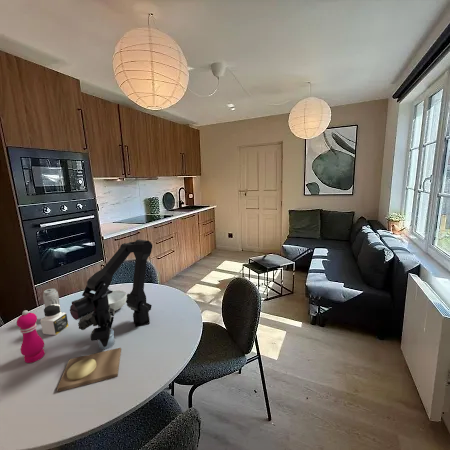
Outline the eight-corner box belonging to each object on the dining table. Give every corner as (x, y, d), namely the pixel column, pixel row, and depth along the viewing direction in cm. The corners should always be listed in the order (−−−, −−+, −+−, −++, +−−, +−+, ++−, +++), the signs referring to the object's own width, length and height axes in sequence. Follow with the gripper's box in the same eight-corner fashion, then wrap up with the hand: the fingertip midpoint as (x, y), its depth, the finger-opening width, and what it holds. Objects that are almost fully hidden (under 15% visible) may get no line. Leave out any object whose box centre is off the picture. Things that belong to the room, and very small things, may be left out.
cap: (116, 337, 106) (114, 327, 105) (114, 347, 100) (112, 336, 99) (99, 341, 104) (97, 330, 103) (96, 351, 98) (95, 340, 97)
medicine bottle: (56, 335, 110) (51, 310, 107) (42, 334, 111) (37, 309, 109) (69, 326, 116) (64, 302, 114) (56, 324, 118) (51, 301, 116)
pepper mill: (31, 351, 100) (21, 306, 96) (50, 350, 100) (41, 304, 96) (18, 365, 93) (7, 316, 89) (38, 363, 93) (28, 314, 89)
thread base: (121, 350, 98) (120, 345, 98) (117, 376, 85) (116, 370, 85) (69, 362, 93) (68, 356, 93) (57, 391, 80) (56, 386, 79)
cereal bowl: (134, 305, 133) (133, 293, 132) (105, 321, 119) (103, 308, 118) (115, 298, 142) (113, 287, 141) (86, 312, 128) (84, 299, 127)
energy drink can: (53, 322, 120) (48, 293, 117) (44, 320, 122) (39, 292, 119) (64, 315, 126) (59, 288, 123) (56, 314, 128) (51, 287, 125)
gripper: (84, 300, 105) (89, 333, 108) (72, 324, 88) (78, 362, 91) (112, 295, 109) (116, 327, 112) (106, 317, 91) (111, 354, 94)
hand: (106, 341), depth 102 cm, fingers closed on cap, 6 cm apart
